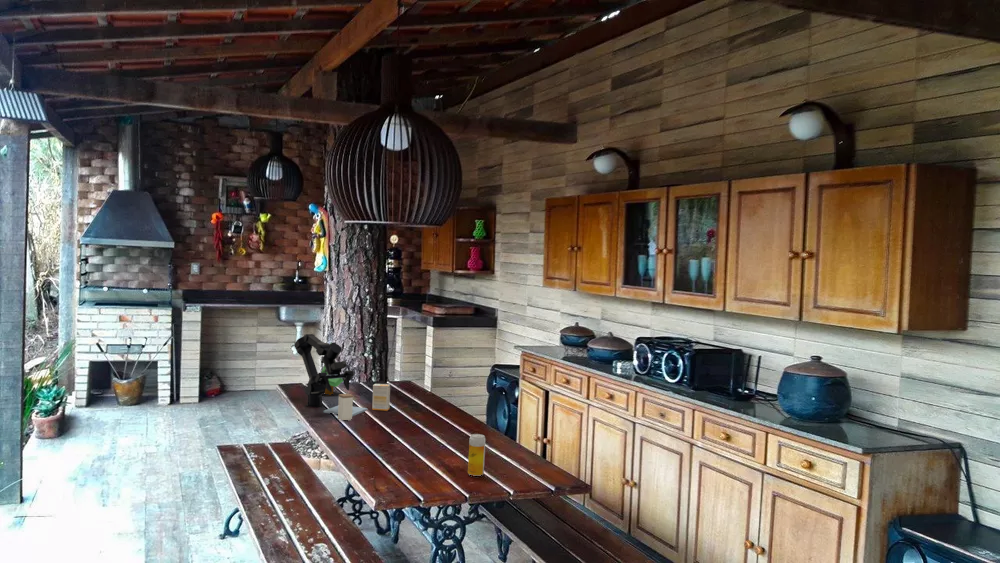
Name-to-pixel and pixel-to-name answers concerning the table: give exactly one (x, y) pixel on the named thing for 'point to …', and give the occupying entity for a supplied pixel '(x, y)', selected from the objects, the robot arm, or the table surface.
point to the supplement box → (381, 397)
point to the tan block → (345, 406)
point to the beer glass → (476, 455)
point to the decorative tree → (332, 382)
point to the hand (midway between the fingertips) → (339, 390)
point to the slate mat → (354, 410)
